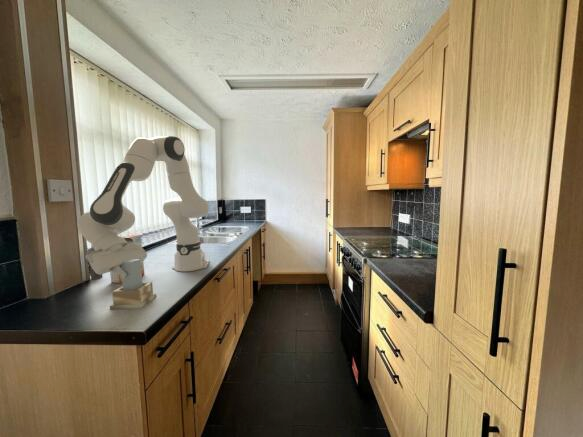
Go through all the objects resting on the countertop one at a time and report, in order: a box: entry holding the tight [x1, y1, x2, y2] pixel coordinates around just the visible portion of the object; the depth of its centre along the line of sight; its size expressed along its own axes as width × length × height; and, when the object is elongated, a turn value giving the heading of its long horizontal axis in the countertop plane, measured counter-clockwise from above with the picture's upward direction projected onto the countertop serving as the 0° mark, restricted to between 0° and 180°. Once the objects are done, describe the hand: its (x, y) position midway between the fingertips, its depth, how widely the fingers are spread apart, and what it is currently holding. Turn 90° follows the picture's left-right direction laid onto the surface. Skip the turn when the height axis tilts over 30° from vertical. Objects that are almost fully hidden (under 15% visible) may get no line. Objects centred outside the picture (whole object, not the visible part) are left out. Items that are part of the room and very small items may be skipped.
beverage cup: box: [86, 247, 103, 280], centre depth 128 cm, size 7×7×20 cm
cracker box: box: [109, 234, 145, 284], centre depth 126 cm, size 14×6×21 cm, turn 162°
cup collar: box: [109, 281, 157, 310], centre depth 98 cm, size 11×11×6 cm
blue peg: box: [121, 259, 143, 290], centre depth 97 cm, size 4×4×12 cm
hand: (133, 273), depth 97 cm, fingers closed on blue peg, 4 cm apart
